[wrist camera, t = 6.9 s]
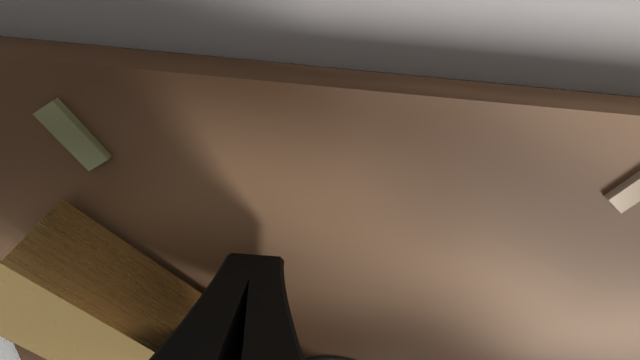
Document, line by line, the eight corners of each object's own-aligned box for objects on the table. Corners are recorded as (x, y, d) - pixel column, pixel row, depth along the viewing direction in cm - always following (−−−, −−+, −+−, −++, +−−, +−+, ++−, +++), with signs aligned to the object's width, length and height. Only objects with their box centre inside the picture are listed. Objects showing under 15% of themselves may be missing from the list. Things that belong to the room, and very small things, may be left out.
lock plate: (525, 452, 19) (542, 494, 18) (86, 431, 18) (66, 474, 17) (758, 108, 10) (829, 136, 9) (-57, 30, 9) (-126, 47, 8)
